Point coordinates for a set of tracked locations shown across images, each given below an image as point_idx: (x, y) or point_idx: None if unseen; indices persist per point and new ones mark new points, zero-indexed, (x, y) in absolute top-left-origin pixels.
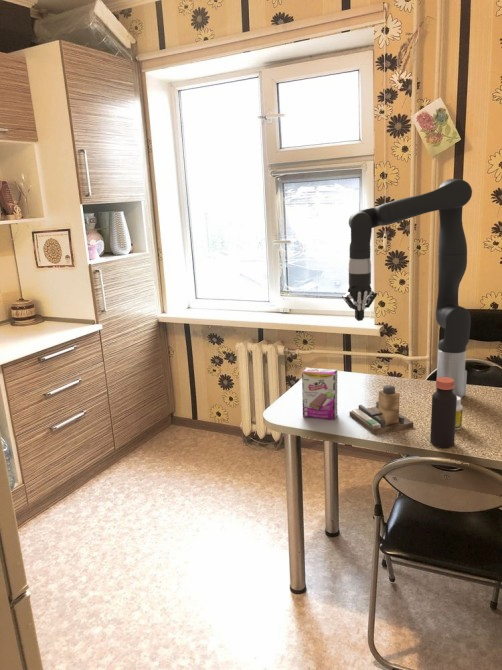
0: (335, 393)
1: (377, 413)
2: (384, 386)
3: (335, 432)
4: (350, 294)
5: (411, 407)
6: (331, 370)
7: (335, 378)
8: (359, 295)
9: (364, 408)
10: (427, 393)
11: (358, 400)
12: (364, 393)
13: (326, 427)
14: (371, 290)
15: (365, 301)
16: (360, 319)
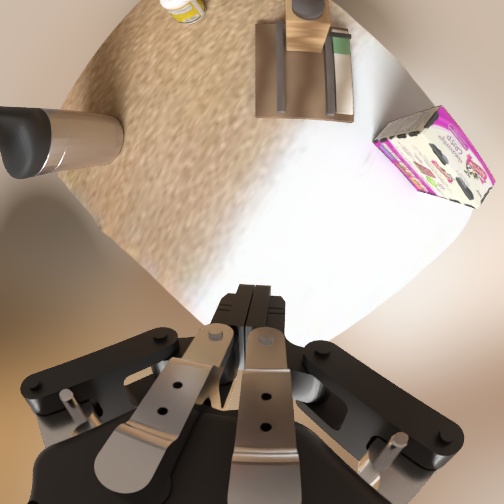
0: (408, 119)
1: (334, 33)
2: (317, 10)
3: (408, 78)
4: (377, 494)
5: (200, 104)
6: (438, 137)
7: (428, 113)
8: (264, 463)
9: (332, 91)
10: (130, 163)
11: (287, 188)
12: (251, 220)
13: (414, 104)
14: (47, 448)
15: (175, 370)
16: (259, 287)
